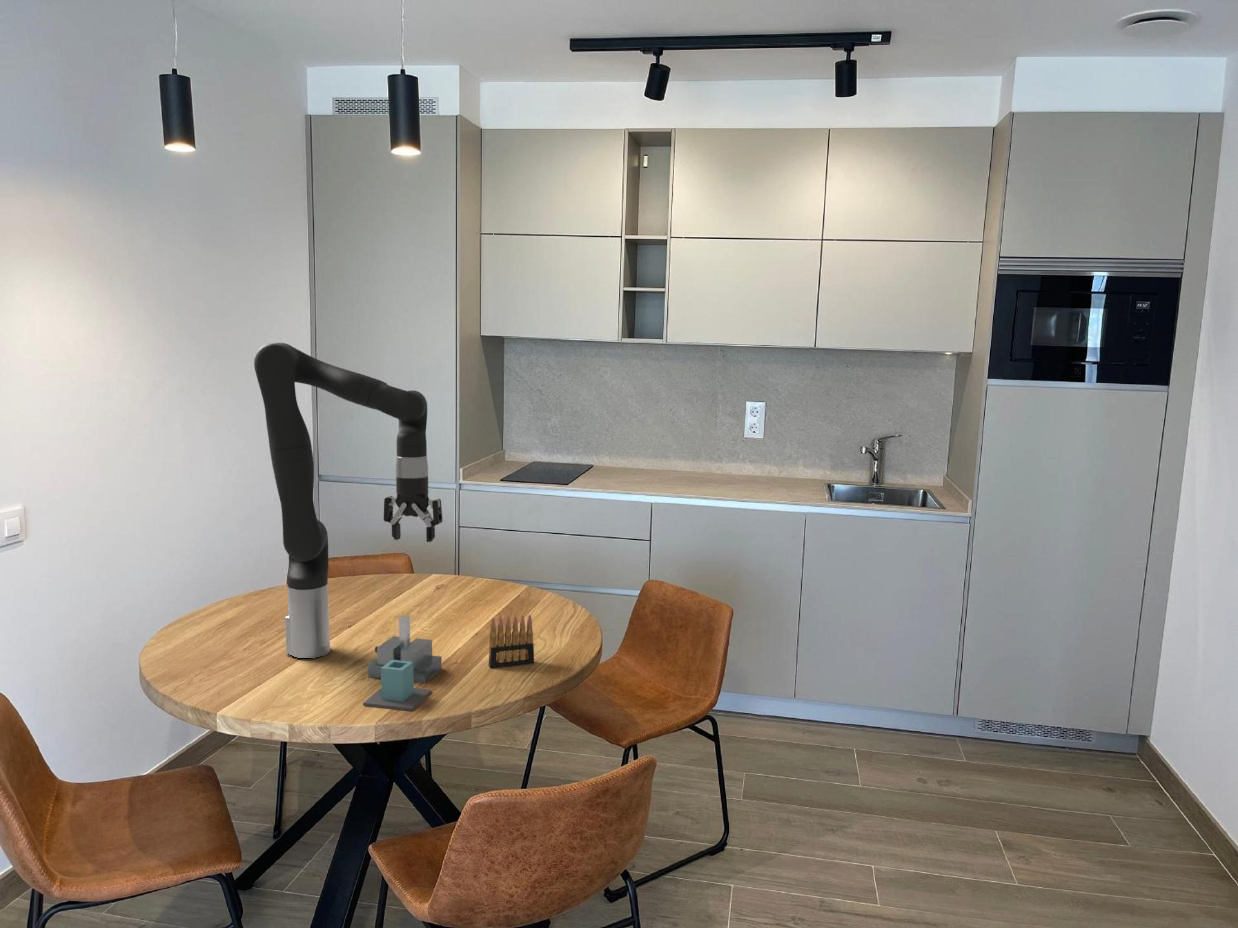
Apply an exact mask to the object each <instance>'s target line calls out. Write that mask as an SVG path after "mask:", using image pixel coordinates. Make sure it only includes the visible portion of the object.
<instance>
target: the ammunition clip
mask: <svg viewBox="0 0 1238 928" xmlns="http://www.w3.org/2000/svg"><path fill="white" fill-rule="evenodd" d="M518 624H519V626H518ZM511 626H512V627H511ZM496 627H497V629H496ZM489 631H490V633H489V649H488V650H489V651H488V667H489V669H501V668H508V667H510V668H511V667H516V666H517V667H518V666H525V665H534V664H535V653H534V652H535V650H534V630H533V619H532V616H531V614H528V616H527V623H526V620H525V618H524V615H523V614H522V615H521V616H520V620H519V623H518V617H517V616H516V615H514V617H513V620H512V625H511V620H510V617H509V616H507V618H506V621H505V630H504V622H503V619H502V617H499V620H498V623H497V626H496V622H495V618H494V617H493V618H491V623H490V630H489ZM504 631H505V632H504Z"/></svg>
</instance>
